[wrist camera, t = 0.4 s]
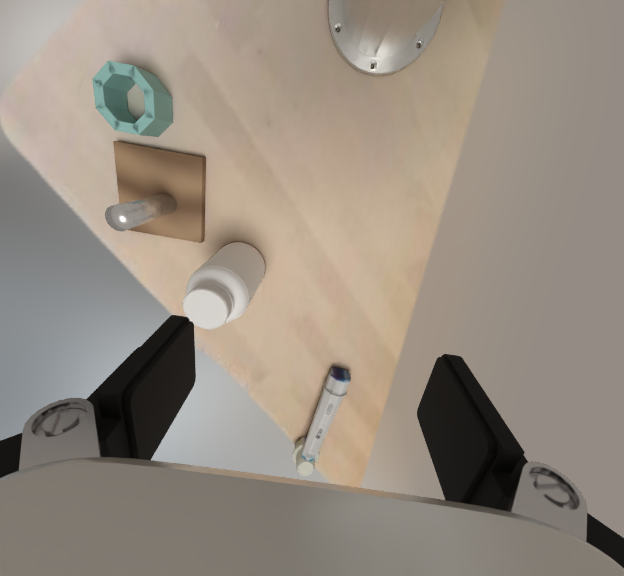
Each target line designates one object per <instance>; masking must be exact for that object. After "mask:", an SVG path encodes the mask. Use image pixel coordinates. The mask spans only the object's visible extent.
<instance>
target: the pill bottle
mask: <svg viewBox="0 0 624 576" xmlns="http://www.w3.org/2000/svg"><path fill="white" fill-rule="evenodd" d="M264 273H265V263H264V260H263V258H262V256H261V254H260V253H259V252H258V251H257V250H256V249H255V248H254V247H252V246H251V245H248V244H246V243H241V242H235V243H230V244H228V245H226V246H224V247H223V248H221V249H220V250H219V251H218V252H217V253H216V254H215V255H213V256H212V257H211V258H210V259H209V260H208V261H207V262H205V263H204V264H203V265H202V266H201V267H200V268H199V269H198V270H196V271H195V272H194V273H193V275H192V276H191V277H190V279H189V281H188V284H187V295H186V296H185V298H184V301H183V310H184V313H185V315H186V317H188V318H189V320H190V321H191V322H193V324H194V325H196V326H198V327H201V328H204V329H214V328H218V327H220V326H221V325H223V324H224V323H227V322H231V321H233V320H235V319H237V318H239V317H240V316H241V315H242V314H243V313H244V312H245V310H246V309H247V307H248V305H249V303H250V301H251V300H252V298H253V296H254V294H255V292H256V290H257V288H258V287H259V285H260V283H261V281H262V279H263V277H264Z"/></svg>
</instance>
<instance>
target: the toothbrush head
mask: <svg viewBox="0 0 624 576" xmlns="http://www.w3.org/2000/svg"><path fill="white" fill-rule="evenodd" d="M350 380H351V375H350V373H349V372H348V371H346V370H344V369H341V368H337V367H333V368H331V369H330V372H329V375H328V377H327V380H326V382H324V383H323V391H322V394H321V397H320V400H319V403H318V406H317V409H316V412H315V415H314V417H313V420H312V423H311V426H310V429H309V432H308V435H307V437H301V439H300V440H299V441H297V442H296V445H295V449H294V452H293V461H294V463H295V464H296V467H297V471H298V473H299V474H300V475H302V476H308V475H310V474H311V473H312V472H313V470H314V467H315V463H317V460H318V458H319V449H320V447H321V445H322V443H323V440H324V438H325V436H326V434H327V432H328V429H329V427H330V425H331V423H332V421H333V419H334V416H335V414H336V412H337V410H338V408H339V406H340V403H341V401H342V399H343V397H345V396H346V395H347V392H346V390H347V387H348V385H349V382H350Z"/></svg>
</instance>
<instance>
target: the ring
mask: <svg viewBox="0 0 624 576" xmlns="http://www.w3.org/2000/svg"><path fill="white" fill-rule="evenodd" d="M135 83H136V84H137V85H138V86H139V87H140V89H141V90H142V91H143V93H144V100H145V114H144V115H143V116H142V117H141V118H140V119H139V120H138V121H136V119H135V118H134V117H133V116H132V115H131V113H130V112H129V111H128V102H127V92H128V91H129V90H130V89H131V88H132V87H133V86H134V84H135ZM93 87H94V96H95V105H96V109H97V110H98V111H99V112H100V113H101V114H102V116H103V117H104V118H105V119H106V120H107V122H108V123H109V124H110V125H111V126H112V127H113V129H114V130H116V131H121V132H127V133H132V134H137V135H146V136H155V137H158V136H159V135H160V134H161V133H163V132H164V131H165V130H166V129H167V128H168V127H169V126H170V125H171V124H172V123H173V114H172V97H171V95H170V94H169V93H168V91H167V90H166V89H165V87H164V86H163V85H162V83H161V82H160V81H159V79H158V78H157V77H156V75H154V74H151V73H149V72H147V71H145V70H143V69H140V68H138V67H136V66H133V65H128V64H123V63H118V62H113V61H108V62H107V63H106V64H105V65H104V66H103V67H102V69H101V70H100V71H99V72H98V73H97V74H96V75H95V77H94V78H93Z"/></svg>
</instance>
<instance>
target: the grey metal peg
mask: <svg viewBox="0 0 624 576" xmlns="http://www.w3.org/2000/svg"><path fill="white" fill-rule="evenodd" d="M176 208H177V203H176V200H175V199H174V197H173V196H171V195H170V194H166V193H164V194H160V195H155V196H151V197H147V198H143V199H139V200H134V201H130V202H126V203H122V204H118V205H113V206H110V207H108V208H107V210H106V212H105V218H106V221H107V223H108V224H109V225H110V226H111V227H112V228H113V229H115V230H117V231H125V230H128V229H130V228H133V227H136V226H138V225H141V224H144V223H146V222H149V221H152V220H154V219H157V218H160V217H162V216H165V215H168V214H171V213H173V212H174V211H175V210H176Z"/></svg>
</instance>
